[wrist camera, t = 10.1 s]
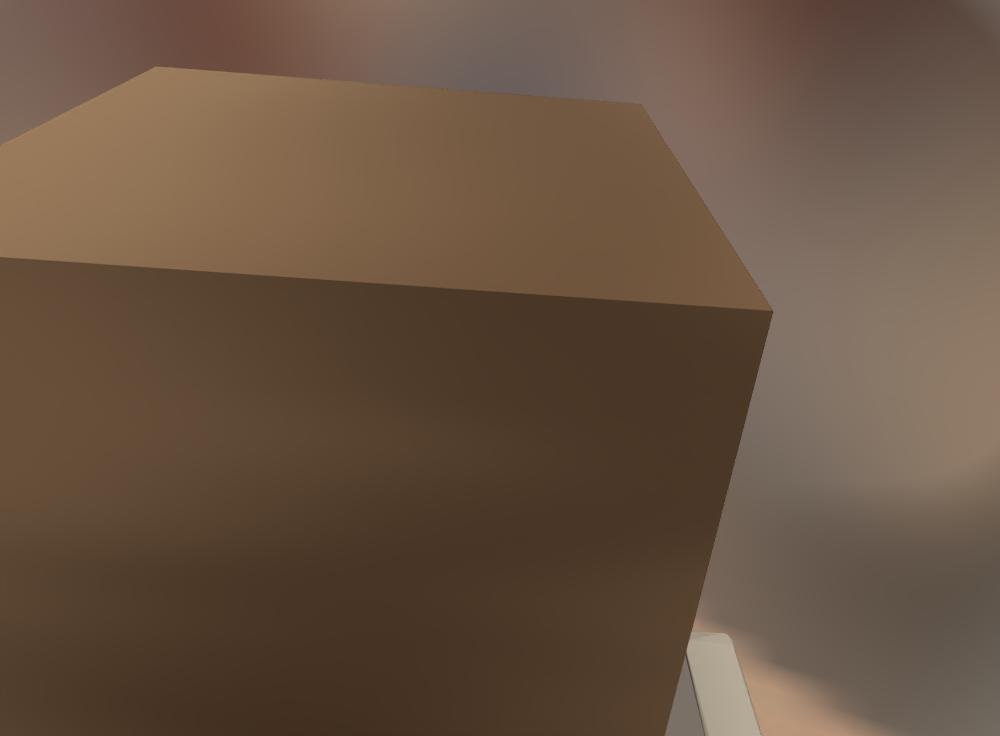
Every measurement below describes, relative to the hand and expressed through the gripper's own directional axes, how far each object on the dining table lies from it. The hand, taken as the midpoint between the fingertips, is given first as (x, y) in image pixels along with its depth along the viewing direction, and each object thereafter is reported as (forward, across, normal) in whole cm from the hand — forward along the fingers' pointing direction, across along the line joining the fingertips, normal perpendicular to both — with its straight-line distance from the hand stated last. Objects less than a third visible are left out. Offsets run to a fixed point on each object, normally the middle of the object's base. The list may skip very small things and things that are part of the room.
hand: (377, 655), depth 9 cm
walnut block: (-1, 0, +6) cm, 7 cm away
